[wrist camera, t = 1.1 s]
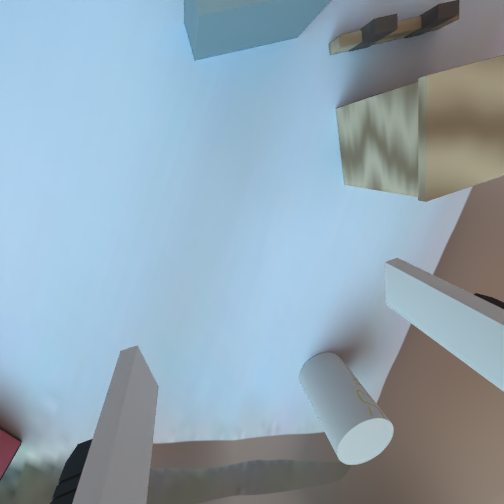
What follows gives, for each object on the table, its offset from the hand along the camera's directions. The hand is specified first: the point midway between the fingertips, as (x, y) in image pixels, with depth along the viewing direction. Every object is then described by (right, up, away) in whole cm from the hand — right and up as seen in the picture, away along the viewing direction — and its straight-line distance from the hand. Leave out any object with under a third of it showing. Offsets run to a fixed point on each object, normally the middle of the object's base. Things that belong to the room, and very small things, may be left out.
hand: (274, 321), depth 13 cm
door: (-2, +26, +13) cm, 29 cm away
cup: (+11, -17, +31) cm, 37 cm away
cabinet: (+15, +22, +19) cm, 32 cm away
